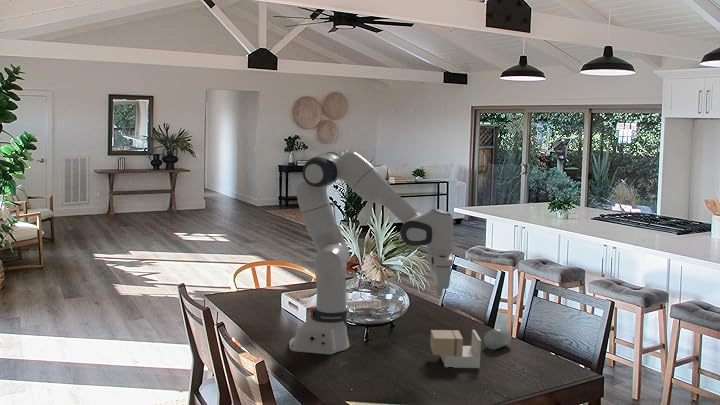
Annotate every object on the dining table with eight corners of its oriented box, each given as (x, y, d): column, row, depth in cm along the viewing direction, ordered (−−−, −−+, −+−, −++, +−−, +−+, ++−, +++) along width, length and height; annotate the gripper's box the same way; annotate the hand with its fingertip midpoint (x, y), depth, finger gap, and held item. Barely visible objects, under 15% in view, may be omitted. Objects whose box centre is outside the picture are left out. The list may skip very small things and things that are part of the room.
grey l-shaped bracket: (445, 367, 226) (446, 339, 225) (440, 355, 237) (441, 329, 235) (479, 368, 226) (481, 340, 225) (473, 356, 237) (474, 329, 236)
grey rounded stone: (489, 327, 245) (501, 323, 250) (480, 340, 248) (492, 336, 254) (502, 340, 241) (514, 335, 247) (494, 353, 244) (505, 348, 250)
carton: (433, 355, 226) (434, 338, 225) (430, 346, 235) (430, 329, 234) (462, 355, 226) (463, 338, 226) (458, 346, 235) (458, 330, 235)
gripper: (426, 250, 237) (426, 287, 239) (434, 262, 217) (433, 302, 219) (444, 250, 237) (443, 287, 239) (453, 262, 217) (452, 303, 219)
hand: (438, 294), depth 229 cm, fingers closed
